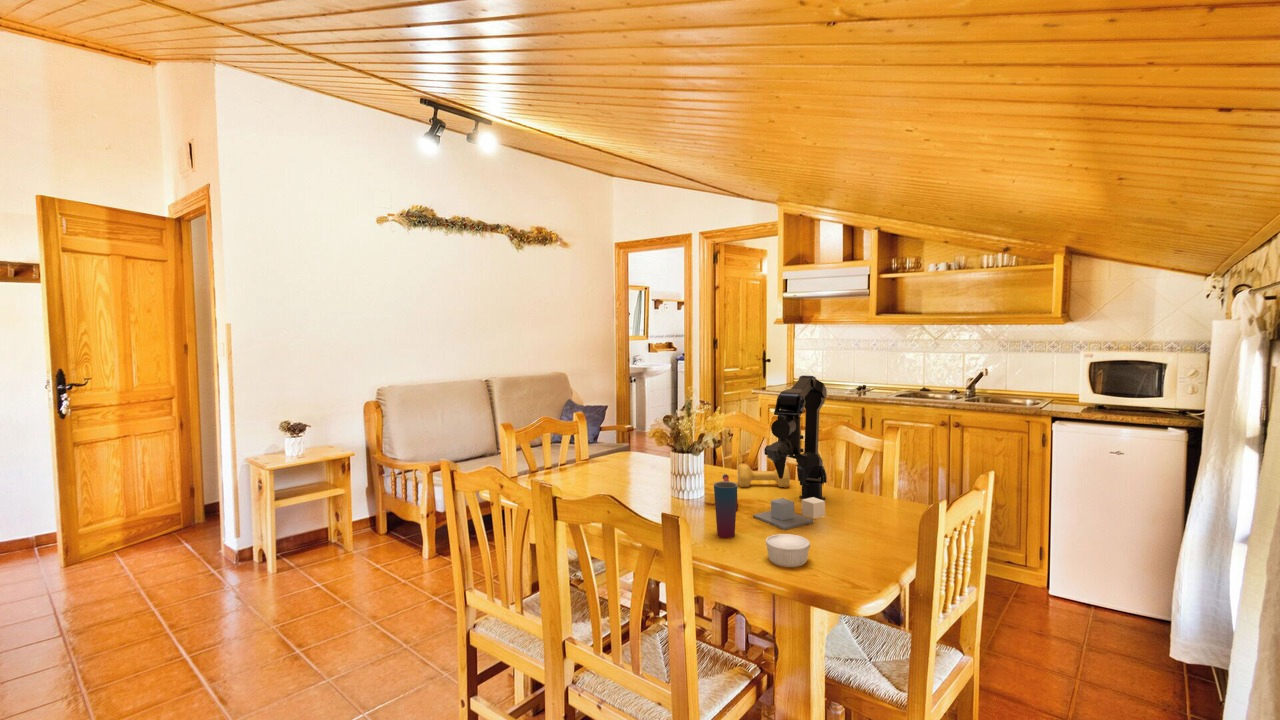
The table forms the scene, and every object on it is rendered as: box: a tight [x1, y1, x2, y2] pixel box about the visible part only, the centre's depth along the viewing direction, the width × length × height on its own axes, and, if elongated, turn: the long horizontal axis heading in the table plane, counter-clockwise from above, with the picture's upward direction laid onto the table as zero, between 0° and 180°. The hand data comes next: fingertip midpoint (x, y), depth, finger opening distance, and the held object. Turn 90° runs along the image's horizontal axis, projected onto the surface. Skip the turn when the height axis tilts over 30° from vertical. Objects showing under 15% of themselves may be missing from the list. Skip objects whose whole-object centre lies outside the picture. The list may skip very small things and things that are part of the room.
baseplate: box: [752, 510, 815, 531], centre depth 189 cm, size 12×14×1 cm
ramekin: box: [765, 533, 811, 568], centre depth 158 cm, size 11×11×5 cm
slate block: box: [770, 497, 795, 521], centre depth 189 cm, size 5×5×5 cm
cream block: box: [801, 497, 826, 520], centre depth 193 cm, size 5×5×5 cm
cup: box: [713, 480, 739, 539], centre depth 176 cm, size 7×7×15 cm
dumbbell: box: [737, 463, 791, 489], centre depth 228 cm, size 19×9×8 cm, turn 83°
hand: (791, 481), depth 190 cm, fingers open, 9 cm apart
